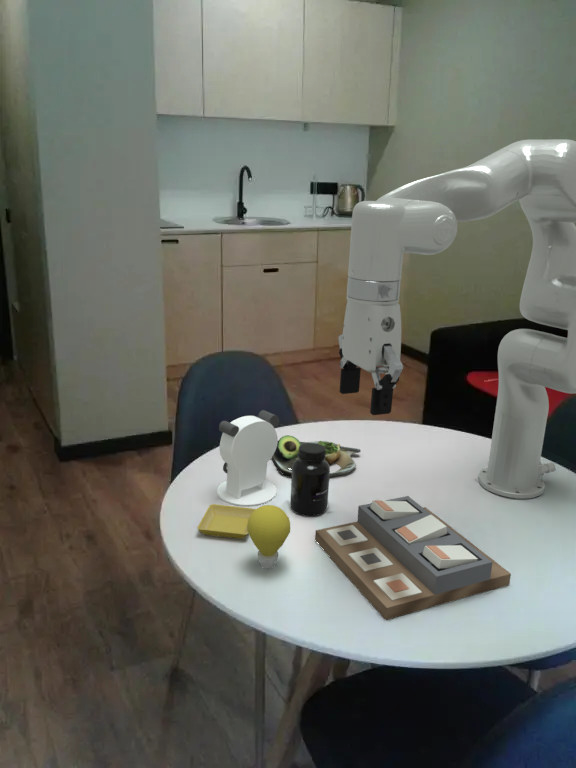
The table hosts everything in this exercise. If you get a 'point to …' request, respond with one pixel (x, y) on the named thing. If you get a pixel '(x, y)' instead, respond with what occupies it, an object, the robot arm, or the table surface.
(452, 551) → the rocker
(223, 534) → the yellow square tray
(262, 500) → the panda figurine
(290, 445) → the salad plate
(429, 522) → the rocker
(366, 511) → the switch housing
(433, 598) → the board
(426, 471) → the table surface
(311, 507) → the supplement bottle
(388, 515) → the rocker
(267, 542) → the light bulb
